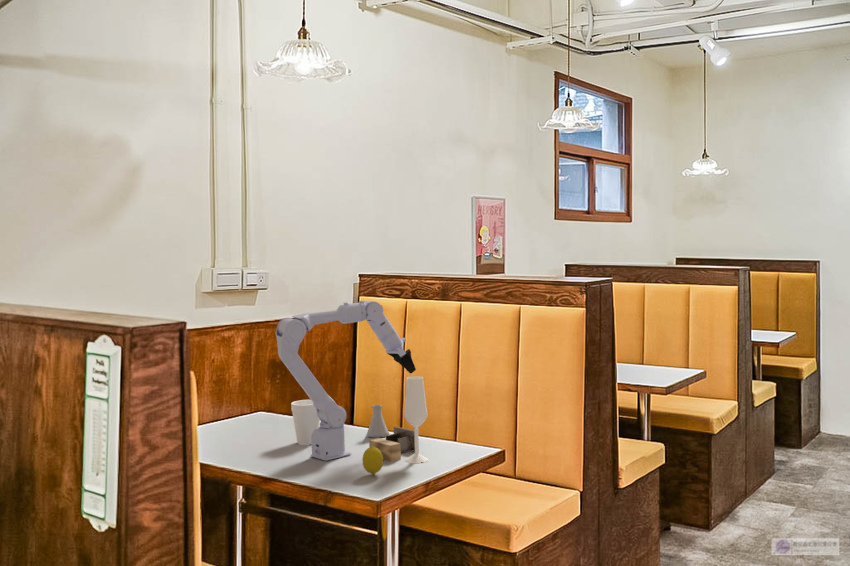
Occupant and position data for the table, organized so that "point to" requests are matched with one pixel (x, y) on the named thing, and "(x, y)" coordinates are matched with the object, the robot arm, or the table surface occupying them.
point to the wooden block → (387, 449)
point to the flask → (377, 424)
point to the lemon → (372, 460)
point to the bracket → (403, 438)
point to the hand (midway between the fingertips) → (409, 368)
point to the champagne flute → (415, 411)
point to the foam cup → (304, 420)
